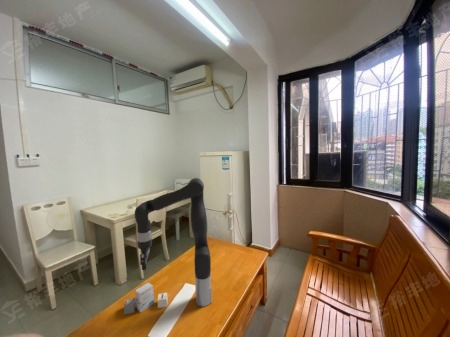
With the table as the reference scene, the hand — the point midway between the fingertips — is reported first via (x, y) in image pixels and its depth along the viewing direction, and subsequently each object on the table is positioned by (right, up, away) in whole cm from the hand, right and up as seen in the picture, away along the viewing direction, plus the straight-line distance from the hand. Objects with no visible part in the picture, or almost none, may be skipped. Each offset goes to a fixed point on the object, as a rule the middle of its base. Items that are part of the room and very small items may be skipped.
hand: (145, 264), depth 108 cm
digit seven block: (-9, -26, 0) cm, 28 cm away
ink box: (-1, -26, +3) cm, 26 cm away
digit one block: (+9, -26, +4) cm, 27 cm away
